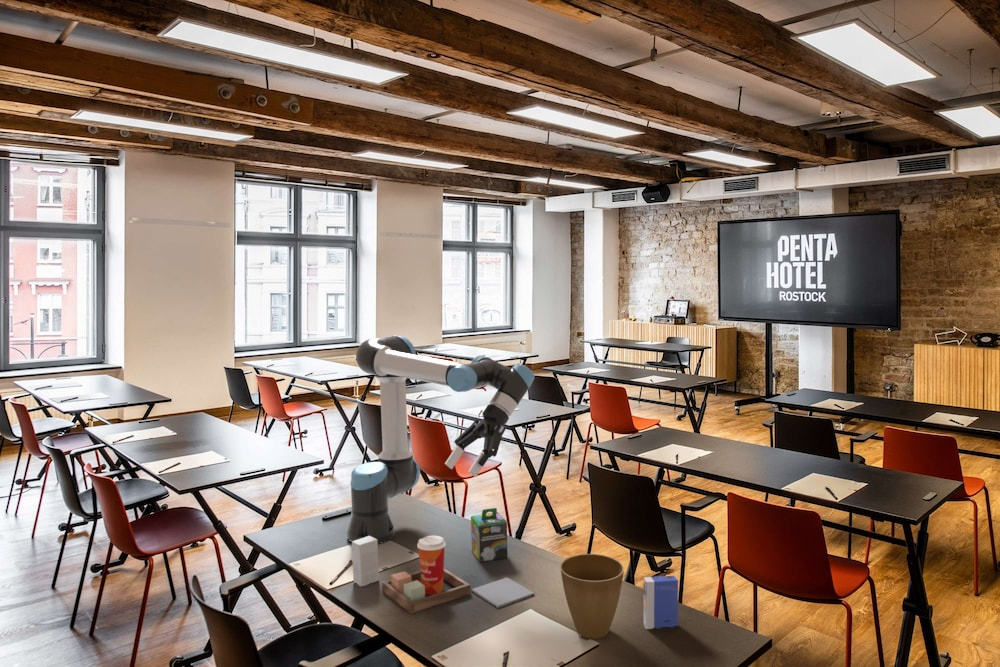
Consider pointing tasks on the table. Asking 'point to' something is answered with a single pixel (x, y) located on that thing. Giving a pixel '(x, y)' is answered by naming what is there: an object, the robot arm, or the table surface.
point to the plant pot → (592, 592)
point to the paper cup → (431, 563)
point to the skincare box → (365, 561)
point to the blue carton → (660, 601)
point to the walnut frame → (429, 601)
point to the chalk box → (489, 535)
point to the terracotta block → (400, 581)
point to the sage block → (414, 590)
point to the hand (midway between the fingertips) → (459, 470)
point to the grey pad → (502, 592)
